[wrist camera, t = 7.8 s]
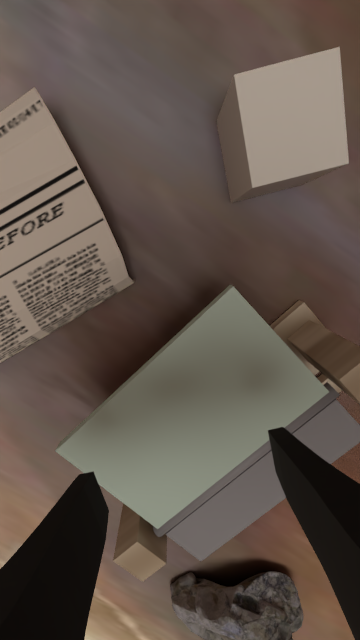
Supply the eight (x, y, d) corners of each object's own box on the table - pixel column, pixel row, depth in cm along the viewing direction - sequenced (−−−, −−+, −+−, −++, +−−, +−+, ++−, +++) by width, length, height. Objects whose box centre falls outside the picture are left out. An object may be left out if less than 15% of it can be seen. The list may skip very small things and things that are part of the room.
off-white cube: (292, 102, 17) (339, 46, 13) (301, 185, 19) (348, 163, 14) (216, 122, 18) (234, 74, 13) (230, 203, 19) (252, 188, 14)
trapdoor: (333, 395, 20) (374, 433, 16) (192, 508, 22) (197, 566, 18) (222, 273, 18) (238, 282, 13) (75, 412, 20) (51, 455, 16)
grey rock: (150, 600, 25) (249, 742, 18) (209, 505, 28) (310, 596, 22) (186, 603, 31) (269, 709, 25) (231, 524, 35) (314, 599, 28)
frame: (357, 368, 22) (444, 425, 15) (177, 512, 25) (180, 616, 18) (298, 300, 20) (365, 327, 14) (113, 462, 23) (90, 554, 16)
